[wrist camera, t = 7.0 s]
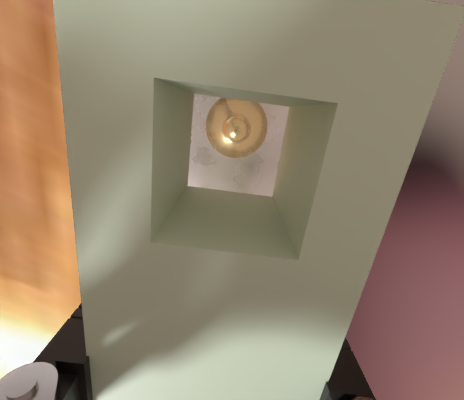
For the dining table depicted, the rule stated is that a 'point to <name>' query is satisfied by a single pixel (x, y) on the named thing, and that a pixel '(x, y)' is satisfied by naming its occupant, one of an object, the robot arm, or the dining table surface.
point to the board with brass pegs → (235, 144)
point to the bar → (234, 203)
